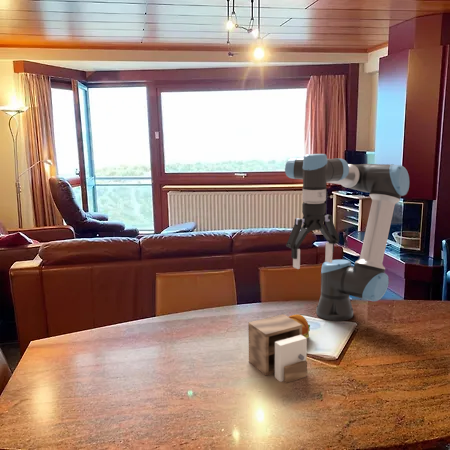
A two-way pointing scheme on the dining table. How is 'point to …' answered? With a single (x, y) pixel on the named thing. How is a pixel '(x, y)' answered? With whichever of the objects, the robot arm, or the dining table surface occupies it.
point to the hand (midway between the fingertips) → (312, 264)
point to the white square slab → (289, 353)
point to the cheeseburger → (304, 324)
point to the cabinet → (273, 345)
